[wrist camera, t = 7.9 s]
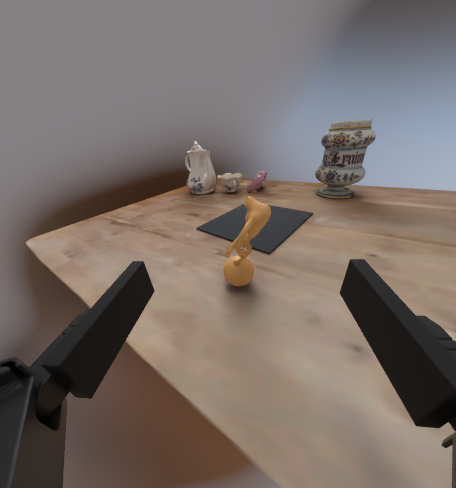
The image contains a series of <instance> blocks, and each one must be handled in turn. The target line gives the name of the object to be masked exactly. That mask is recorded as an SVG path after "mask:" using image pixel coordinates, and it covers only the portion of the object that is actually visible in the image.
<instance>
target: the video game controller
mask: <svg viewBox="0 0 456 488" xmlns="http://www.w3.org/2000/svg"><path fill="white" fill-rule="evenodd" d="M266 175H267V173H266V172H264V171H260V172H258V173H257V175H256V178H255V179H253V181H252V182H251V183H250V184H249V185H248V186H247V188H246V190H247V191H248V192H252V191H254V190H255V189H257V190H258V189H259V188H260V187H261V186H262V185H263V184H264V180H265V178H266Z"/></svg>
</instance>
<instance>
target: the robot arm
mask: <svg viewBox="0 0 456 488" xmlns="http://www.w3.org/2000/svg"><path fill="white" fill-rule="evenodd" d="M153 293H154V288H153V286H152V283H151V280H150V278H149V275H148V272H147V270H146V267H145V264H144V262H143V261H133V262H132V263H131V264H130V265H129V266H128V267H127V269H126V270H125V271H124V272H123V273H122V274H121V275H120V276H119V278H118V279H117V280H116V281H115V282H114V283H113V284H112V285H111V287H110V288H109V289H108V290H107V291H106V292H105V293H104V294H103V295H102V297H101V298H100V299H99V300H98V301H97V302H96V303H95V304H94V306H93V307H92V308H91V309H86V310H85V311H84V312H82V313H81V314H80V315H78V316H77V317H76V318H75V319H74V320H73V321H72V322H71V323H70V324H69V326H68V327H67V328H66V329H65V330H64V331H63V332H62V333H61V335H59V336H58V337H57V338H56V339H55V340H54V341H53V343H52V344H51V345H50V346H49V347H48V348H47V349H46V350H45V351H44V352H43V353H42V354H41V356H40V357H39V358H38V359H37V360H36V361H35V362H34V363H33V364H32V365H31V366H30V367H28V366H26V365H25V364H24V363H23V362H22V361H20V360H19V359H17V358H8V359H6V360H3V361H0V488H62V486H63V468H64V450H65V432H66V431H65V430H66V413H67V402H66V399H65V397H66V396H67V394H68V393H69V391H70V392H71V393H72V394H73V395H74V396H75V397H79V398H90V399H91V398H92V397H93V395H94V393H95V392H96V390H97V388H98V386H99V385H100V383H101V381H102V380H103V378H104V376H105V375H106V373H107V371H108V369H109V368H110V366H111V364H112V363H113V361H114V359H115V358H116V356H117V354H118V352H119V351H120V349H121V347H122V346H123V344H124V342H125V341H126V339H127V337H128V335H129V334H130V332H131V330H132V329H133V327H134V325H135V324H136V322H137V320H138V318H139V317H140V315H141V313H142V312H143V310H144V308H145V307H146V305H147V303H148V301H149V300H150V298H151V296H152V295H153ZM340 295H341V296H342V298H343V300H344V301H345V303H346V305H347V307H348V308H349V310H350V312H351V314H352V315H353V317H354V319H355V321H356V322H357V324H358V326H359V328H360V329H361V331H362V333H363V335H364V336H365V338H366V340H367V341H368V343H369V345H370V347H371V348H372V350H373V352H374V354H375V355H376V357H377V359H378V361H379V362H380V364H381V366H382V368H383V369H384V371H385V373H386V375H387V376H388V378H389V380H390V381H391V383H392V385H393V387H394V388H395V390H396V392H397V394H398V395H399V397H400V399H401V401H402V402H403V404H404V406H405V408H406V409H407V411H408V413H409V415H410V416H411V418H412V420H413V421H414V423H415V425H416V426H421V427H433V428H440V427H442V426H443V425H445V424H446V423H447V422H449V423H450V424H451V426H452V427H453V429H454V430H455V431H456V342H455V341H453V340H452V338H451V337H450V336H449V335H448V334H447V333H446V332H445V331H444V330H443V329H442V328H441V327H440V326H439V325H437V324H436V323H434V322H433V321H432V320H430V319H429V318H427V317H426V316H416V315H415V314H414V313H413V312H412V311H411V310H410V309H409V308H408V307H407V306H406V304H405V303H404V302H403V301H402V300H401V299H400V298H399V297H398V296H397V295H396V294H395V293H394V291H393V290H392V289H391V288H390V287H389V286H388V285H387V284H386V283H385V282H384V281H383V279H382V278H381V277H380V276H379V275H378V274H377V273H376V272H375V271H374V270H373V269H372V268H371V266H370V265H369V264H368V263H367V262H366V261H365V260H364V259H350V262H349V265H348V268H347V271H346V274H345V278H344V281H343V284H342V287H341V290H340ZM452 444H453V455H452V488H456V432H455V433H454V434H452V435H451V436H449V437H447V438H446V439H444V440H443V443H442V446H443V447H445V448H447V447H449V446H451V445H452Z"/></svg>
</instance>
